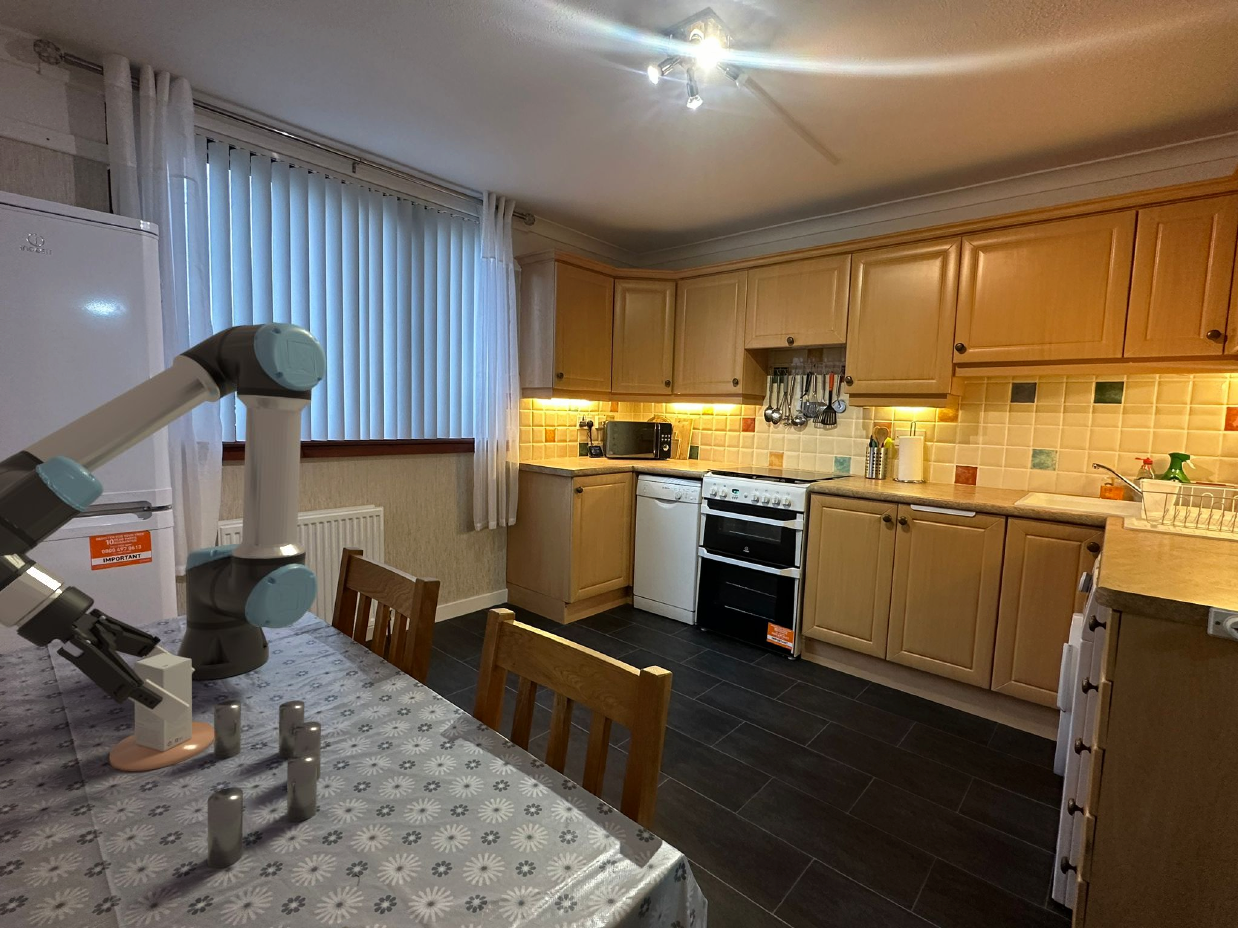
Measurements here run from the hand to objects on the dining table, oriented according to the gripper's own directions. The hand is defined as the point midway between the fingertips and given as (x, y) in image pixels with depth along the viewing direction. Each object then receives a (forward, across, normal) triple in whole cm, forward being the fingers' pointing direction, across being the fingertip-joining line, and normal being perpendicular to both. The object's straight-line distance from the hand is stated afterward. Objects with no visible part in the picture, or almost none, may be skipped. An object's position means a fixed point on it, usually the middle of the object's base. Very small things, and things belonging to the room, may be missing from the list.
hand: (184, 694), depth 87 cm
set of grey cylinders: (+10, +17, 0) cm, 20 cm away
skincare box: (+3, 0, -6) cm, 7 cm away
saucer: (+4, 0, -7) cm, 8 cm away
